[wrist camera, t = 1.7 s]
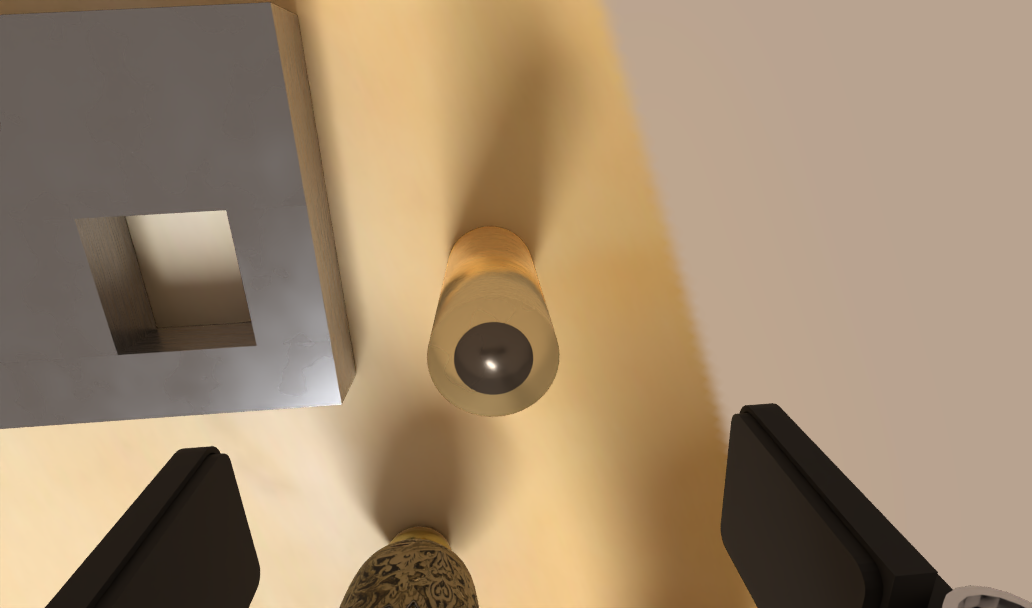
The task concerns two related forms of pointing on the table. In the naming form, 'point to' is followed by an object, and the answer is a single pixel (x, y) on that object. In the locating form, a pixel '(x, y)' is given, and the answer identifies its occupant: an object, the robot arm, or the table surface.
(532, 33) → the table surface
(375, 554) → the cup
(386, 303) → the table surface
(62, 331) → the plate
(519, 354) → the brass bushing
